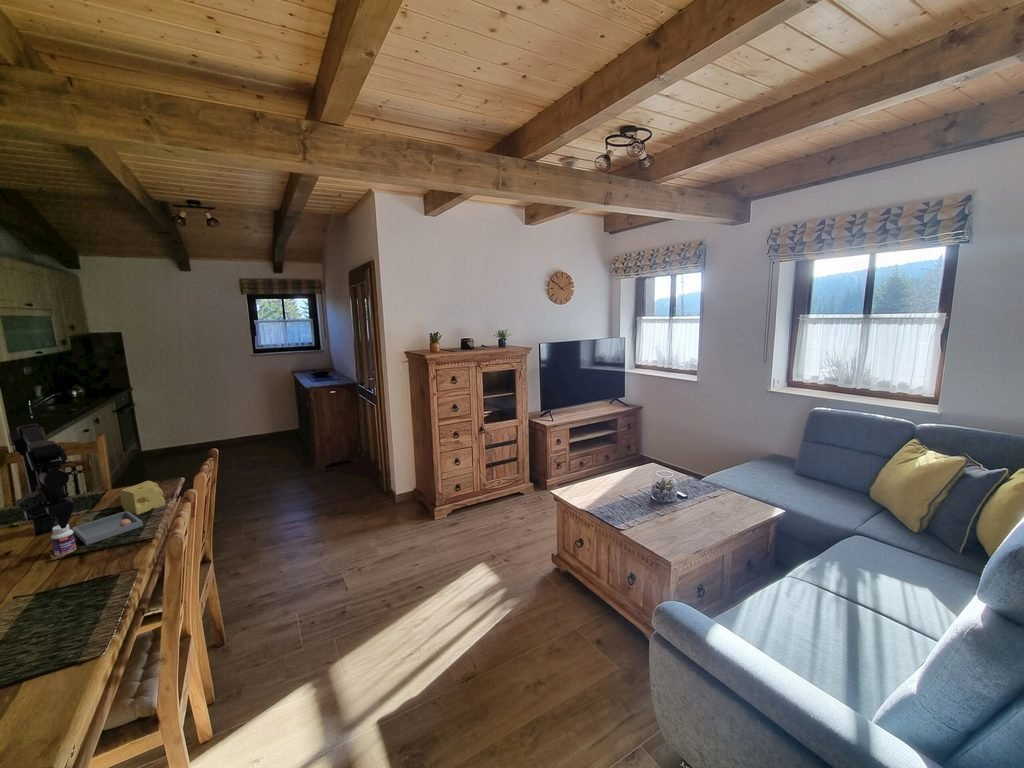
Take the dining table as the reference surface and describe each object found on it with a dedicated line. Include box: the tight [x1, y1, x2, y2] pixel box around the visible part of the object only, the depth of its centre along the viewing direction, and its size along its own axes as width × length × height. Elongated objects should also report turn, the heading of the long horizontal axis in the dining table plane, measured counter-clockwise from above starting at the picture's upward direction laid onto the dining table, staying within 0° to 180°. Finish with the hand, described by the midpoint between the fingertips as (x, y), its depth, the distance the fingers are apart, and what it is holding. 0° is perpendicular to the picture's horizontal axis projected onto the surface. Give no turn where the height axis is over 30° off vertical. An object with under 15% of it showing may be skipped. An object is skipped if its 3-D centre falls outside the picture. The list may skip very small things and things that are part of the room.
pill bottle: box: [50, 523, 77, 556], centre depth 148 cm, size 5×5×10 cm
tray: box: [72, 510, 144, 546], centre depth 163 cm, size 16×16×3 cm
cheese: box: [119, 480, 166, 516], centre depth 180 cm, size 10×11×10 cm
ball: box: [120, 519, 131, 527], centre depth 164 cm, size 3×3×3 cm
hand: (59, 524), depth 147 cm, fingers open, 9 cm apart
